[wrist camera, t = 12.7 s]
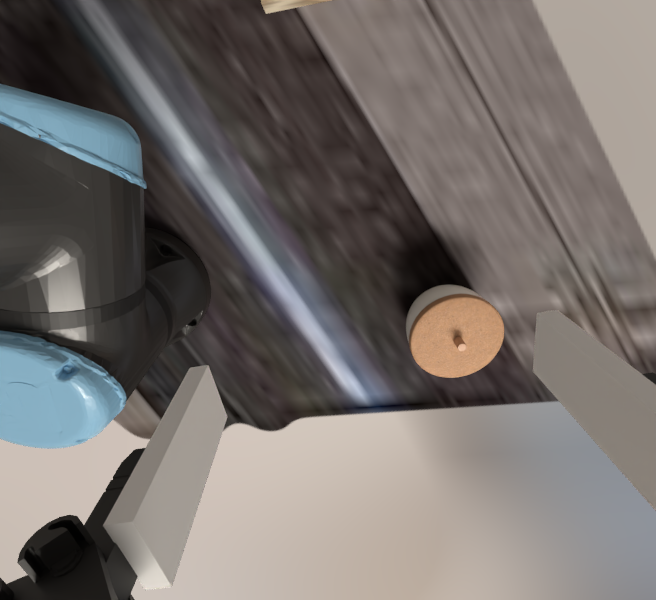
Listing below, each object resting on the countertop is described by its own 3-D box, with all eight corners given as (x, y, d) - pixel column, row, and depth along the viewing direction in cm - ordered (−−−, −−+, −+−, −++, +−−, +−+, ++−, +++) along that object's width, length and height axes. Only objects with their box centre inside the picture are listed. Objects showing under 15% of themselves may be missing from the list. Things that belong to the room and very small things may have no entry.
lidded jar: (484, 331, 51) (517, 371, 42) (408, 353, 52) (425, 397, 44) (471, 261, 47) (504, 290, 38) (388, 287, 48) (403, 321, 40)
